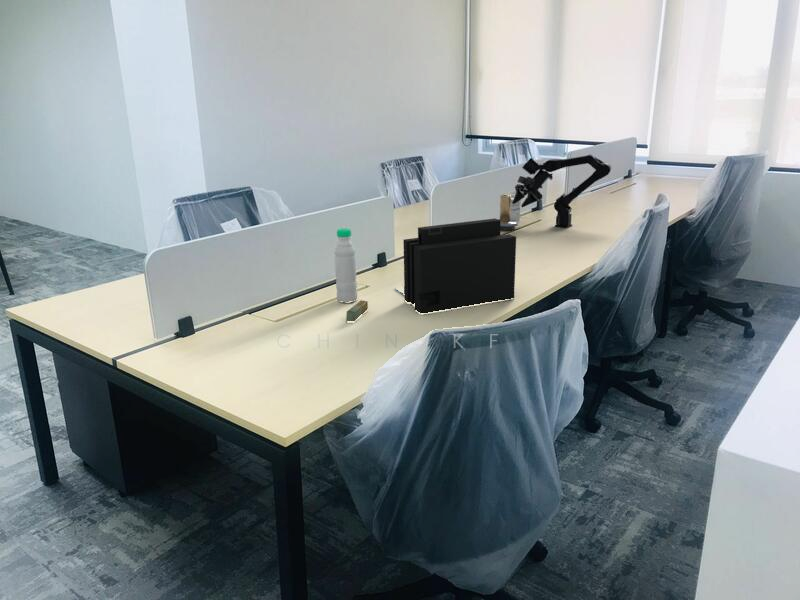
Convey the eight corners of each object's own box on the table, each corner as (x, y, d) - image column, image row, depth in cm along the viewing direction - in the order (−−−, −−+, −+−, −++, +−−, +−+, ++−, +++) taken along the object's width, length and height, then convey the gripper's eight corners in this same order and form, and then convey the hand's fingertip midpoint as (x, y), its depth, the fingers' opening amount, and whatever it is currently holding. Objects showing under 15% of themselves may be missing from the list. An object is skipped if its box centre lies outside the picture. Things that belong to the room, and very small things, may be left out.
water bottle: (337, 297, 233) (333, 227, 225) (357, 296, 233) (354, 226, 225) (336, 304, 226) (333, 232, 218) (357, 303, 227) (354, 231, 219)
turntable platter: (522, 223, 330) (523, 221, 330) (508, 228, 321) (508, 225, 321) (500, 220, 338) (500, 217, 338) (486, 225, 329) (486, 222, 329)
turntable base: (518, 227, 331) (518, 224, 330) (507, 231, 324) (507, 228, 323) (501, 225, 337) (501, 222, 336) (490, 228, 330) (490, 225, 329)
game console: (421, 316, 214) (420, 234, 206) (384, 290, 240) (382, 216, 232) (514, 299, 227) (516, 222, 219) (470, 277, 254) (471, 207, 245)
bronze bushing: (512, 221, 328) (513, 195, 324) (504, 223, 326) (505, 196, 322) (505, 220, 332) (506, 194, 328) (497, 221, 330) (498, 195, 326)
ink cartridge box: (503, 221, 345) (503, 193, 340) (502, 219, 349) (503, 191, 345) (519, 221, 344) (521, 193, 339) (519, 219, 349) (520, 191, 344)
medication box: (354, 324, 208) (353, 312, 207) (346, 323, 209) (345, 311, 208) (368, 312, 219) (367, 300, 218) (360, 311, 220) (360, 299, 219)
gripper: (518, 167, 333) (498, 191, 333) (537, 172, 316) (516, 197, 317) (532, 182, 338) (512, 205, 338) (551, 187, 321) (530, 212, 321)
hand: (517, 205), depth 328 cm, fingers open, 9 cm apart
